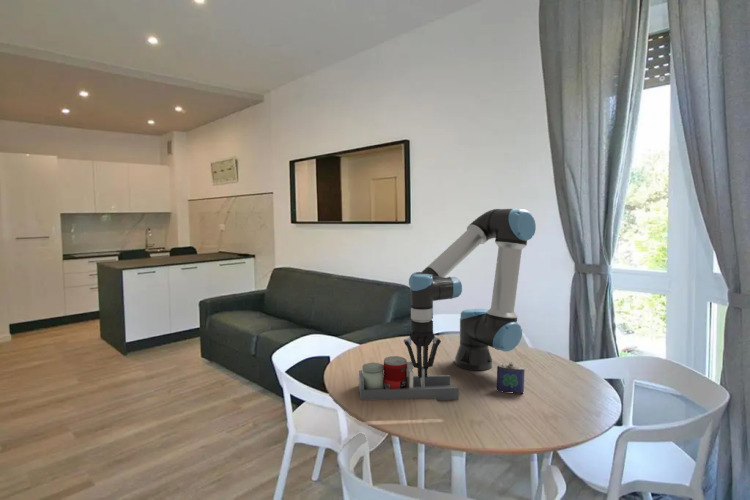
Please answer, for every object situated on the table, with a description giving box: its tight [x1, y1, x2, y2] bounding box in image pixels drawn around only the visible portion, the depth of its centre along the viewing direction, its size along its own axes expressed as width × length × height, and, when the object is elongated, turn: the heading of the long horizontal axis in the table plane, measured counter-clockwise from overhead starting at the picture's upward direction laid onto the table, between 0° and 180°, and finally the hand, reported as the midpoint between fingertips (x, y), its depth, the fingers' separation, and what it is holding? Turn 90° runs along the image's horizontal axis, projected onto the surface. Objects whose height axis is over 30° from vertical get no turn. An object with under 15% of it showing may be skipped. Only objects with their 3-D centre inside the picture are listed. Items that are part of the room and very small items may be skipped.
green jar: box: [361, 362, 384, 390], centre depth 146 cm, size 7×7×9 cm
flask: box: [496, 361, 526, 394], centre depth 150 cm, size 9×3×11 cm, turn 74°
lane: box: [358, 369, 460, 401], centre depth 148 cm, size 33×12×7 cm, turn 95°
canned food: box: [383, 355, 408, 389], centre depth 147 cm, size 8×8×11 cm
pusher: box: [407, 361, 414, 388], centre depth 148 cm, size 2×9×10 cm, turn 5°
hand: (422, 386), depth 148 cm, fingers closed
